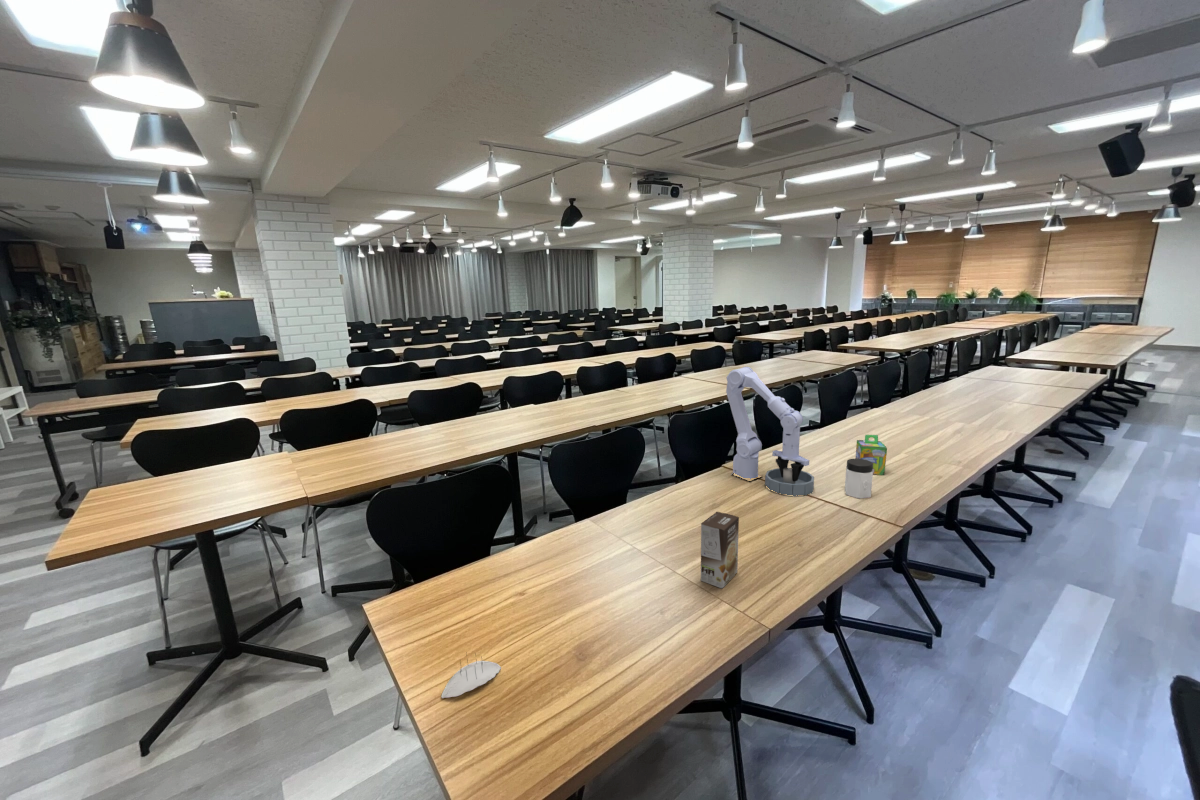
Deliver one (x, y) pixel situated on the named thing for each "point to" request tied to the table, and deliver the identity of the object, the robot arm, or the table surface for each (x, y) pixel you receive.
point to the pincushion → (470, 677)
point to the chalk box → (872, 453)
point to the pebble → (788, 476)
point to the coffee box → (719, 549)
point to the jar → (858, 478)
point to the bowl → (799, 488)
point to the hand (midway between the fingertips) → (789, 478)
